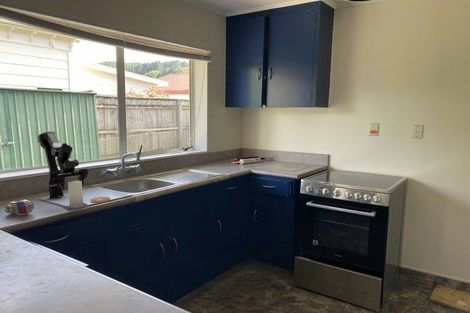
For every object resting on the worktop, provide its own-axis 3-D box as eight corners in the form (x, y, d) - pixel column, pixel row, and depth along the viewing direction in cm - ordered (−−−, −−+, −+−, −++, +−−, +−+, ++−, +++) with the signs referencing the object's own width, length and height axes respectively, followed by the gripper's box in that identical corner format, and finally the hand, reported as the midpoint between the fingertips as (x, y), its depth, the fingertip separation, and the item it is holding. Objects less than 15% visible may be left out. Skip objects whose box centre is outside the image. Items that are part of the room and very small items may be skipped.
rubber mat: (61, 207, 173) (61, 207, 173) (83, 203, 181) (83, 202, 181) (69, 212, 165) (69, 211, 165) (91, 207, 173) (91, 206, 173)
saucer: (89, 204, 179) (88, 202, 179) (92, 199, 189) (92, 197, 189) (109, 202, 181) (108, 200, 181) (111, 198, 191) (111, 196, 191)
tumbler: (68, 209, 169) (66, 183, 168) (71, 205, 176) (69, 181, 174) (82, 208, 171) (80, 182, 169) (84, 204, 177) (82, 180, 175)
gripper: (47, 157, 169) (56, 181, 163) (85, 153, 182) (95, 175, 175) (44, 170, 176) (52, 194, 169) (81, 166, 189) (90, 188, 182)
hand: (73, 188), depth 174 cm, fingers open, 9 cm apart
